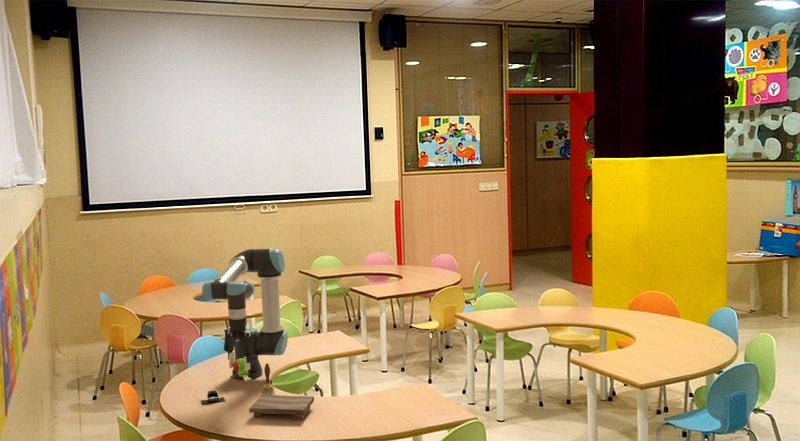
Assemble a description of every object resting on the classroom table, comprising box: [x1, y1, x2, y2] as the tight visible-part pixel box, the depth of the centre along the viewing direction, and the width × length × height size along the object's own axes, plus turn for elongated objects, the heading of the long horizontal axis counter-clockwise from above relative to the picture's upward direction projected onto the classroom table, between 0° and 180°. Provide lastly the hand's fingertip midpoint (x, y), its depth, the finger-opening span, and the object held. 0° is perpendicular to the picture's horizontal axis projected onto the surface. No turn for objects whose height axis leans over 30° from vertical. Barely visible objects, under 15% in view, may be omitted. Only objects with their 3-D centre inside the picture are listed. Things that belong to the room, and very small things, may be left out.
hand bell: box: [258, 363, 277, 398], centre depth 330 cm, size 8×8×16 cm
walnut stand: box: [249, 394, 315, 421], centre depth 310 cm, size 16×24×5 cm, turn 82°
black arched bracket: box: [200, 390, 226, 406], centre depth 327 cm, size 13×8×5 cm, turn 111°
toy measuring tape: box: [232, 358, 253, 382], centre depth 309 cm, size 6×19×7 cm, turn 25°
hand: (239, 368), depth 312 cm, fingers closed on toy measuring tape, 8 cm apart
